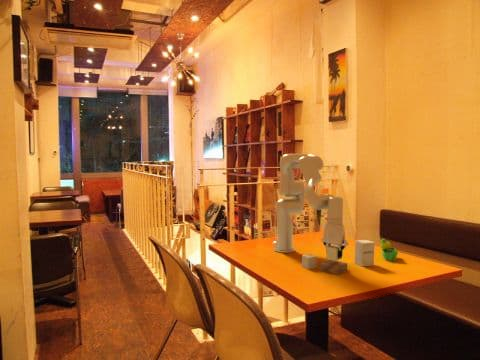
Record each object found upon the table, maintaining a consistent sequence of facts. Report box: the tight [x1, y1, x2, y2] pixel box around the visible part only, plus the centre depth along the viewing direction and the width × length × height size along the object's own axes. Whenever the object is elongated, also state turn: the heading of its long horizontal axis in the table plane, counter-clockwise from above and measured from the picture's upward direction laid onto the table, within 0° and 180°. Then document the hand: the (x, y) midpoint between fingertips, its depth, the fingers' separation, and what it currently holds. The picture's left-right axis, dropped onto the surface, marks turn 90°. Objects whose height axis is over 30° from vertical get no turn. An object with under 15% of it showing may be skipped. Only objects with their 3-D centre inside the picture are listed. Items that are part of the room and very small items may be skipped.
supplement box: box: [354, 239, 375, 268], centre depth 202 cm, size 7×7×13 cm
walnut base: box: [319, 259, 348, 276], centre depth 192 cm, size 10×10×4 cm
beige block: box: [326, 244, 343, 261], centre depth 191 cm, size 6×6×6 cm
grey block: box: [301, 253, 318, 270], centre depth 197 cm, size 6×6×6 cm
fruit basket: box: [379, 238, 399, 262], centre depth 215 cm, size 11×9×11 cm
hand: (334, 256), depth 191 cm, fingers closed on beige block, 5 cm apart
